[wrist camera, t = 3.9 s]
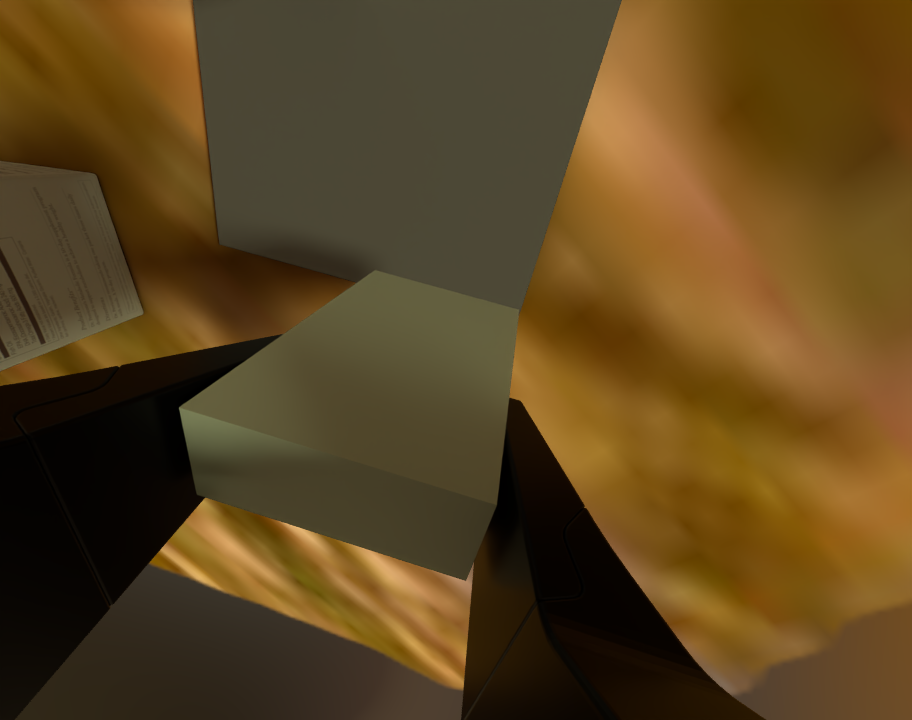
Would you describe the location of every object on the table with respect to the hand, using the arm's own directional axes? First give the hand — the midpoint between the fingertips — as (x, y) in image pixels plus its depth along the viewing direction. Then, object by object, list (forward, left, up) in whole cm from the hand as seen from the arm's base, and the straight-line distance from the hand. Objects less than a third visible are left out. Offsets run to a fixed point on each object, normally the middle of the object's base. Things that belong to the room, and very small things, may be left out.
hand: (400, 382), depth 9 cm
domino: (0, 0, -4) cm, 4 cm away
